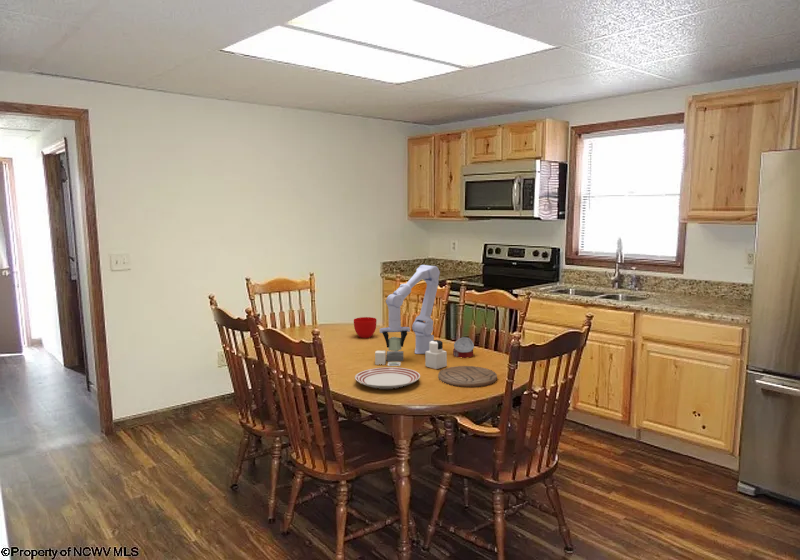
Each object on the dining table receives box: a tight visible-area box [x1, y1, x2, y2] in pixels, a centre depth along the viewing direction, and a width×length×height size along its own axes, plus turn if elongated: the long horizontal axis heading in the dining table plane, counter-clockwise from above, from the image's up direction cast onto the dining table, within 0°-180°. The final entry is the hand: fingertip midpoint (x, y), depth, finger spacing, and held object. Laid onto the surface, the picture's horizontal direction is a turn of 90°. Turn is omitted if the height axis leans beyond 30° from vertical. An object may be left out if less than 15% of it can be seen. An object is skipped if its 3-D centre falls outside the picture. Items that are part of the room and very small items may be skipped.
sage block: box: [387, 336, 402, 351], centre depth 267 cm, size 5×5×6 cm
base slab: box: [386, 350, 404, 362], centre depth 268 cm, size 8×8×3 cm
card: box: [387, 361, 402, 367], centre depth 259 cm, size 6×6×1 cm
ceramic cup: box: [353, 316, 378, 339], centre depth 315 cm, size 13×17×10 cm
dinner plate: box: [354, 366, 421, 390], centre depth 232 cm, size 27×27×3 cm
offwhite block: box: [374, 350, 387, 366], centre depth 260 cm, size 5×5×6 cm
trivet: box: [437, 365, 498, 388], centre depth 237 cm, size 25×25×2 cm
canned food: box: [452, 336, 475, 359], centre depth 273 cm, size 11×10×10 cm
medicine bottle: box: [424, 339, 448, 370], centre depth 254 cm, size 7×7×12 cm
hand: (394, 346), depth 267 cm, fingers closed on sage block, 6 cm apart
